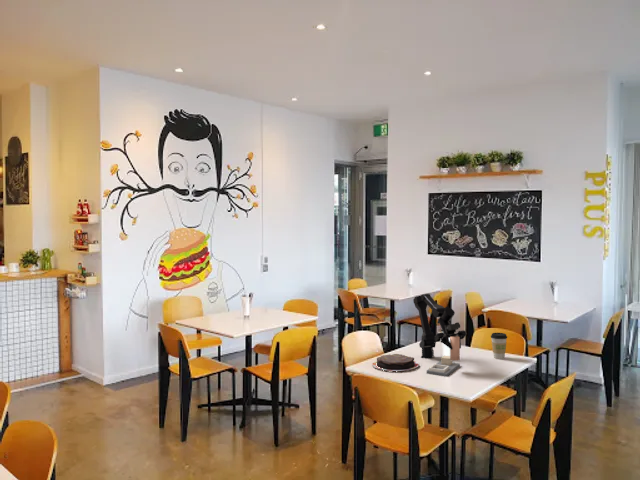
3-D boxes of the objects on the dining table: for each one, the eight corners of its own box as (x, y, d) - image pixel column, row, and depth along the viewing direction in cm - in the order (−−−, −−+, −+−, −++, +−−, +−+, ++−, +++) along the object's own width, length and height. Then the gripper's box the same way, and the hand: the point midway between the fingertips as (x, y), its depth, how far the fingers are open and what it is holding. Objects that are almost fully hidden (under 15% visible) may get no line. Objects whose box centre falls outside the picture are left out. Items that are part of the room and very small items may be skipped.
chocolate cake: (383, 357, 334) (383, 347, 334) (425, 363, 320) (425, 352, 320) (364, 369, 310) (363, 358, 310) (408, 375, 296) (408, 364, 296)
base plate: (426, 373, 298) (426, 363, 298) (440, 363, 318) (440, 354, 317) (447, 376, 292) (446, 366, 292) (459, 365, 311) (459, 356, 311)
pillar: (448, 358, 302) (448, 336, 302) (456, 357, 304) (456, 335, 303) (453, 361, 297) (453, 338, 297) (461, 360, 299) (461, 337, 298)
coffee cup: (504, 361, 319) (504, 336, 319) (488, 358, 325) (488, 334, 325) (509, 357, 327) (509, 333, 326) (494, 355, 333) (493, 331, 332)
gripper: (436, 319, 301) (447, 342, 291) (464, 316, 306) (476, 339, 296) (429, 330, 308) (439, 353, 298) (457, 327, 314) (468, 349, 304)
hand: (456, 348), depth 299 cm, fingers closed on pillar, 5 cm apart
